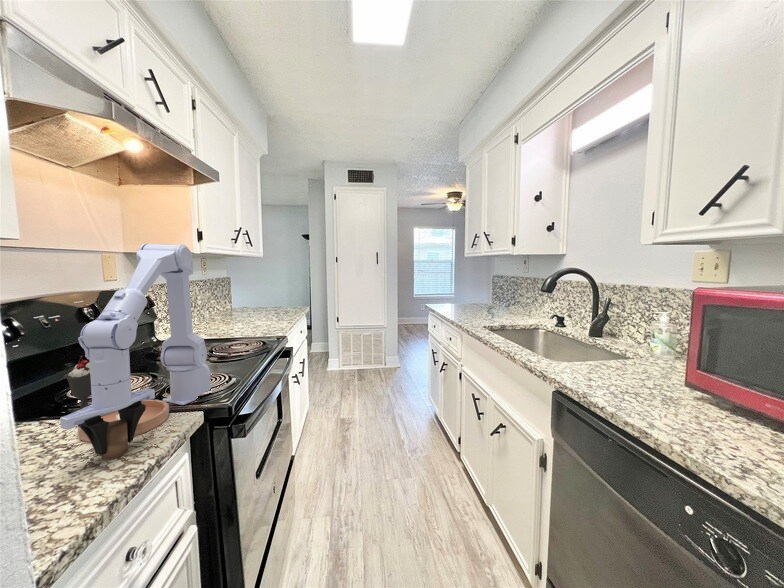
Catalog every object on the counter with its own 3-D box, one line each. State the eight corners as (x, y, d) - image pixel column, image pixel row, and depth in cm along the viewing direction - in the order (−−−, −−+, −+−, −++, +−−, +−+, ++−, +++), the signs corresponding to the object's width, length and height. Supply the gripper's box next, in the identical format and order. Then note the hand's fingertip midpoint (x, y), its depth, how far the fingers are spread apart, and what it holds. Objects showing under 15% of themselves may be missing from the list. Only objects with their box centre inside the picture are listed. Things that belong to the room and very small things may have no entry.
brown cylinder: (120, 446, 64) (118, 418, 63) (133, 450, 62) (131, 421, 62) (96, 457, 60) (94, 427, 60) (109, 461, 59) (108, 431, 58)
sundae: (79, 419, 75) (75, 358, 74) (58, 415, 76) (54, 356, 75) (109, 407, 81) (106, 351, 80) (89, 404, 83) (86, 350, 81)
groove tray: (140, 405, 83) (140, 396, 83) (183, 414, 78) (183, 405, 78) (61, 434, 68) (60, 423, 68) (108, 449, 63) (107, 437, 62)
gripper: (138, 367, 68) (141, 426, 69) (48, 391, 54) (53, 463, 56) (160, 371, 66) (163, 431, 67) (72, 396, 52) (77, 472, 53)
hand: (114, 446), depth 61 cm, fingers closed on brown cylinder, 4 cm apart
